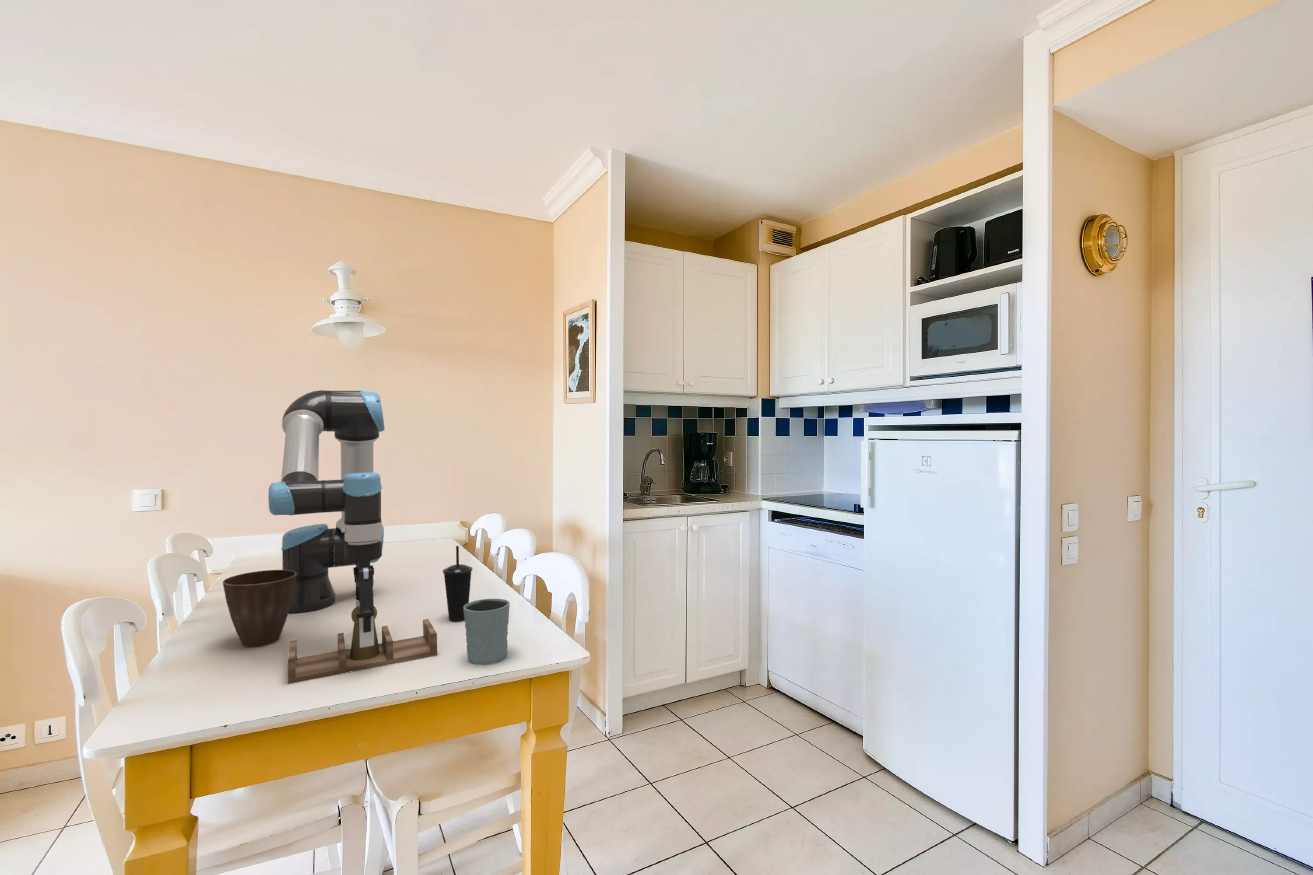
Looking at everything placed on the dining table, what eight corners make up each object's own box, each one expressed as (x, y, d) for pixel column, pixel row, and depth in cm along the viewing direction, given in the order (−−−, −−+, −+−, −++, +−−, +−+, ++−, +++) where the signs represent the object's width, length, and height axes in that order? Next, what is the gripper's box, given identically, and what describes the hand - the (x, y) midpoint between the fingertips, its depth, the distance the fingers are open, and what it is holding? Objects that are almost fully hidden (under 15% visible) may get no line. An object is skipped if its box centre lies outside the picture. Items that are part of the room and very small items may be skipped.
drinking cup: (456, 625, 153) (455, 549, 153) (437, 620, 157) (436, 547, 157) (479, 617, 160) (478, 544, 159) (460, 612, 164) (459, 542, 163)
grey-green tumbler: (471, 669, 125) (470, 613, 125) (458, 654, 133) (457, 602, 133) (516, 658, 130) (516, 605, 130) (502, 645, 139) (501, 595, 139)
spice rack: (290, 663, 129) (290, 641, 129) (428, 639, 143) (428, 618, 143) (288, 683, 118) (287, 659, 118) (437, 655, 133) (436, 633, 133)
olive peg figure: (346, 654, 131) (346, 605, 131) (375, 647, 135) (375, 600, 135) (353, 662, 127) (352, 612, 126) (383, 655, 130) (382, 606, 130)
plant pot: (303, 628, 152) (302, 567, 152) (289, 648, 138) (288, 581, 138) (236, 635, 147) (234, 572, 147) (214, 656, 133) (212, 587, 133)
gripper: (342, 535, 139) (343, 624, 139) (346, 553, 118) (348, 658, 118) (376, 532, 143) (378, 619, 143) (387, 549, 122) (388, 651, 122)
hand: (364, 637), depth 131 cm, fingers open, 12 cm apart
